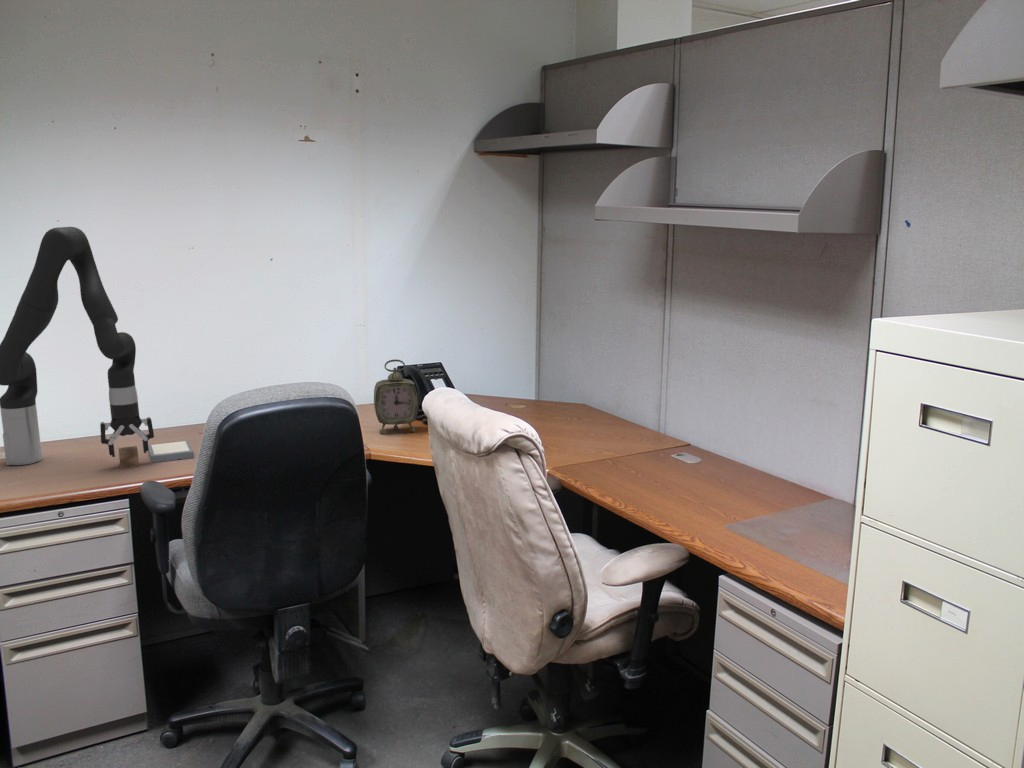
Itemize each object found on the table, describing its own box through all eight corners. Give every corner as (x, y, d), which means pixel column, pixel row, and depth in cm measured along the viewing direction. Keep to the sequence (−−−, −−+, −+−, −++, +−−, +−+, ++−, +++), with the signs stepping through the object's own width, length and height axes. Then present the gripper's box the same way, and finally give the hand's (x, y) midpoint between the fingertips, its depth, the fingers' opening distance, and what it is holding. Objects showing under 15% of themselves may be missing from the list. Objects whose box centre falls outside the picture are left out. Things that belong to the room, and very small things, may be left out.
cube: (120, 468, 246) (119, 452, 245) (119, 464, 251) (118, 447, 250) (139, 466, 249) (137, 450, 248) (138, 461, 253) (136, 445, 252)
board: (151, 463, 251) (150, 455, 251) (148, 451, 264) (147, 444, 263) (194, 457, 257) (193, 450, 256) (188, 446, 269) (188, 440, 269)
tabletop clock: (376, 435, 283) (373, 362, 277) (374, 429, 291) (371, 358, 286) (419, 433, 286) (417, 360, 281) (415, 426, 294) (414, 356, 289)
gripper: (96, 406, 239) (103, 461, 243) (150, 400, 246) (156, 454, 249) (96, 401, 246) (102, 454, 249) (149, 396, 252) (154, 448, 255)
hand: (129, 454), depth 249 cm, fingers open, 8 cm apart
